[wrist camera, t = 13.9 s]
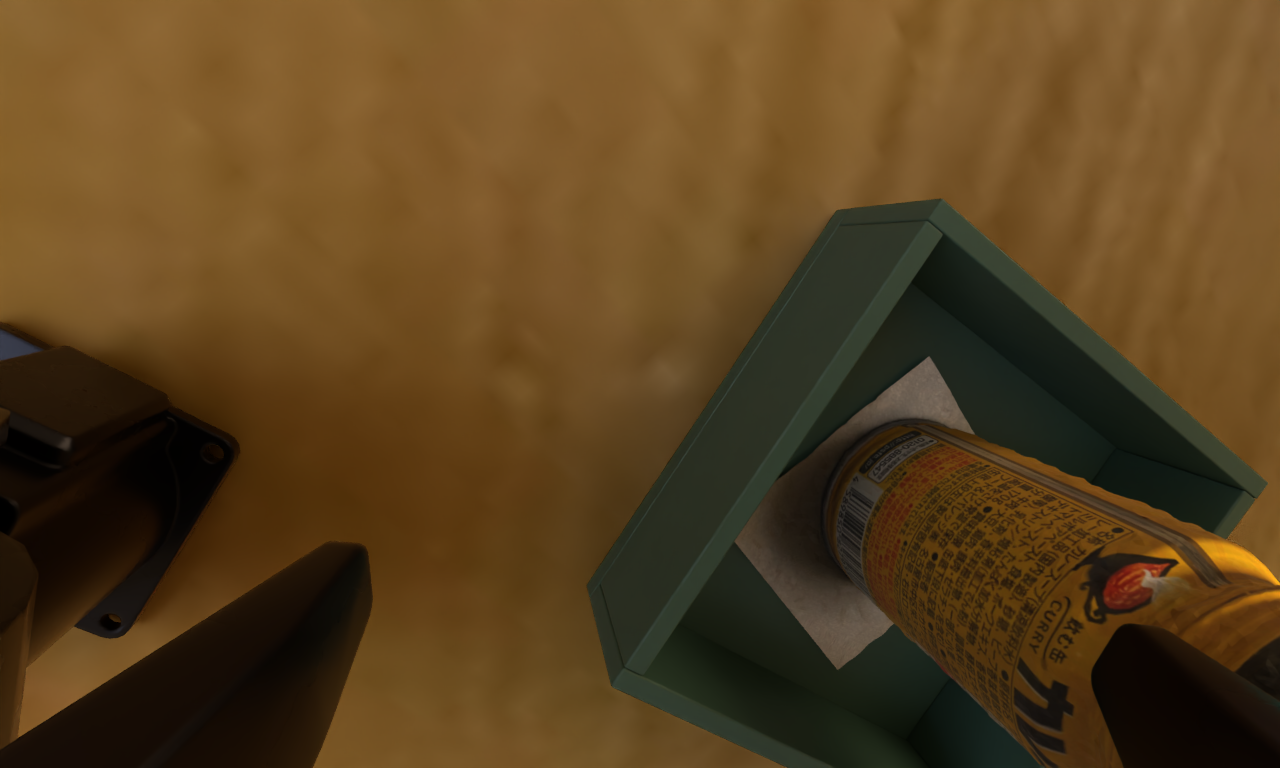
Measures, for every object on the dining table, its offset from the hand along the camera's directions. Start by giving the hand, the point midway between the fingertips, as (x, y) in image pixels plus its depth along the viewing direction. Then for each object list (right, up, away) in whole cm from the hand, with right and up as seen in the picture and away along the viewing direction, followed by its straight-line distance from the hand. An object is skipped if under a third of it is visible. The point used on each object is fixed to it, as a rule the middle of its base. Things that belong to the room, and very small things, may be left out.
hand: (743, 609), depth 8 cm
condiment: (+7, -2, +14) cm, 16 cm away
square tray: (+7, -2, +15) cm, 16 cm away
